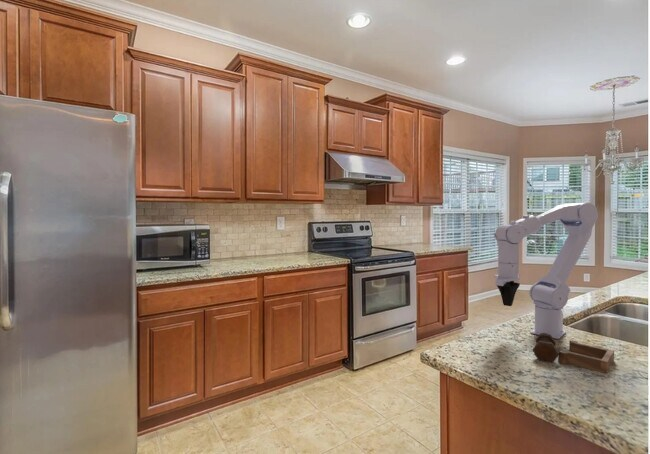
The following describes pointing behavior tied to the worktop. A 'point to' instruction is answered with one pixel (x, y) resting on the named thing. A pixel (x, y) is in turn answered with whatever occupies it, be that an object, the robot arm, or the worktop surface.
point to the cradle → (587, 356)
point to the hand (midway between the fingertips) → (507, 305)
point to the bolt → (545, 348)
